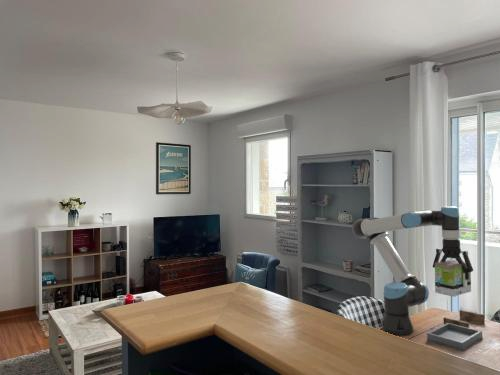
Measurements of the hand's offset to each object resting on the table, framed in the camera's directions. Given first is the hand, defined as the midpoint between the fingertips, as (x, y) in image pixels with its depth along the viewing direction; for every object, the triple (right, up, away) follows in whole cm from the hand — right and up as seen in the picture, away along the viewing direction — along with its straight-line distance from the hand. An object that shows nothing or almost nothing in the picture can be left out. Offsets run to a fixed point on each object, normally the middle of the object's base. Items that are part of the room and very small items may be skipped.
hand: (452, 284), depth 182 cm
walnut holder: (+14, -25, +15) cm, 33 cm away
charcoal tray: (0, -26, -2) cm, 26 cm away
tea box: (0, -4, 0) cm, 4 cm away
